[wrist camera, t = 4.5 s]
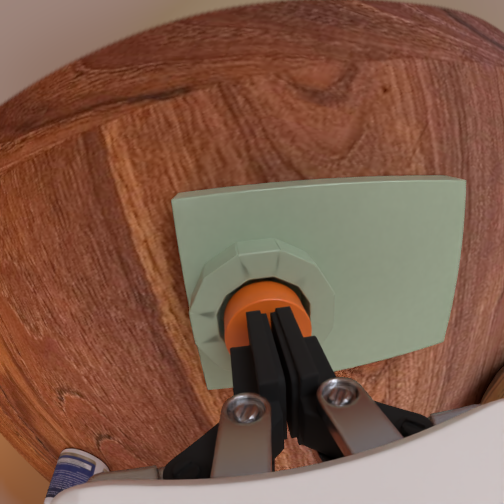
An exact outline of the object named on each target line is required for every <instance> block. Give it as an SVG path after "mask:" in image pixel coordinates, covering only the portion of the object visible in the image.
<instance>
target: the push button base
mask: <svg viewBox="0 0 504 504" xmlns="http://www.w3.org/2000/svg"><path fill="white" fill-rule="evenodd" d="M465 198H466V180H463V179H459V178H454V177H449V176H444V175H413V176H370V177H346V178H327V179H311V180H297V181H284V182H272V183H261V184H251V185H241V186H232V187H223V188H214V189H206V190H197V191H190V192H182V193H178V194H177V195H176V196H175V197H174V198H173V199H172V200H171V203H172V210H173V217H174V224H175V230H176V237H177V243H178V249H179V255H180V261H181V267H182V272H183V278H184V283H185V289H186V294H187V299H188V304H189V317H190V322H191V327H192V331H193V336H194V340H195V344H196V345H197V347H198V351H199V356H200V360H201V364H202V369H203V373H204V377H205V381H206V385H207V389H208V390H212V389H223V388H232V387H233V381H232V368H231V356H230V354H229V352H228V350H227V348H226V345H225V337H224V312H225V308H226V305H227V303H228V302H229V300H230V299H231V297H232V296H233V295H234V294H235V293H236V292H237V291H239V290H240V289H241V288H243V287H245V286H247V285H249V284H252V283H255V282H260V281H272V282H278V283H281V284H283V285H285V286H287V287H289V288H290V289H292V290H293V291H294V292H295V293H296V295H297V296H298V297H299V299H300V301H301V303H302V305H303V307H304V309H305V311H306V313H307V314H308V316H309V319H310V321H311V326H312V334H311V336H316V337H317V339H318V341H319V343H320V345H321V347H322V349H323V351H324V353H325V355H326V357H327V359H328V361H329V363H330V365H331V368H332V370H333V372H334V371H339V370H343V369H348V368H352V367H356V366H361V365H365V364H369V363H373V362H377V361H381V360H384V359H388V358H392V357H395V356H399V355H402V354H406V353H409V352H413V351H416V350H419V349H423V348H426V347H429V346H432V345H435V344H438V343H441V342H443V341H444V337H445V333H446V329H447V325H448V321H449V316H450V312H451V307H452V303H453V297H454V292H455V287H456V281H457V275H458V269H459V262H460V255H461V247H462V238H463V227H464V215H465Z"/></svg>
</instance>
